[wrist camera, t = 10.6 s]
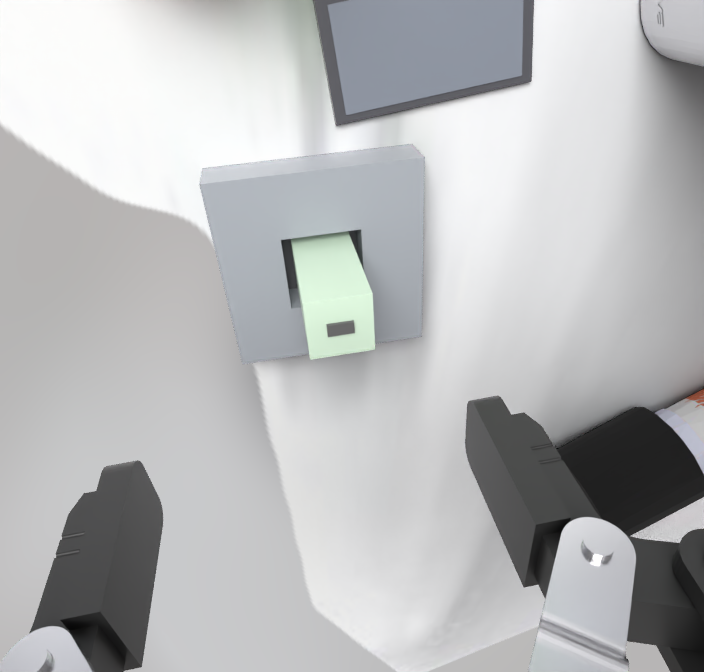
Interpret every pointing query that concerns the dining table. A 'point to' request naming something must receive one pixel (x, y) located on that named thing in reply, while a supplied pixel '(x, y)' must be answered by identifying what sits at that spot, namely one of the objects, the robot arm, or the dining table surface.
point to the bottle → (642, 463)
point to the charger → (333, 295)
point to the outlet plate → (309, 220)
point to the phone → (420, 51)
